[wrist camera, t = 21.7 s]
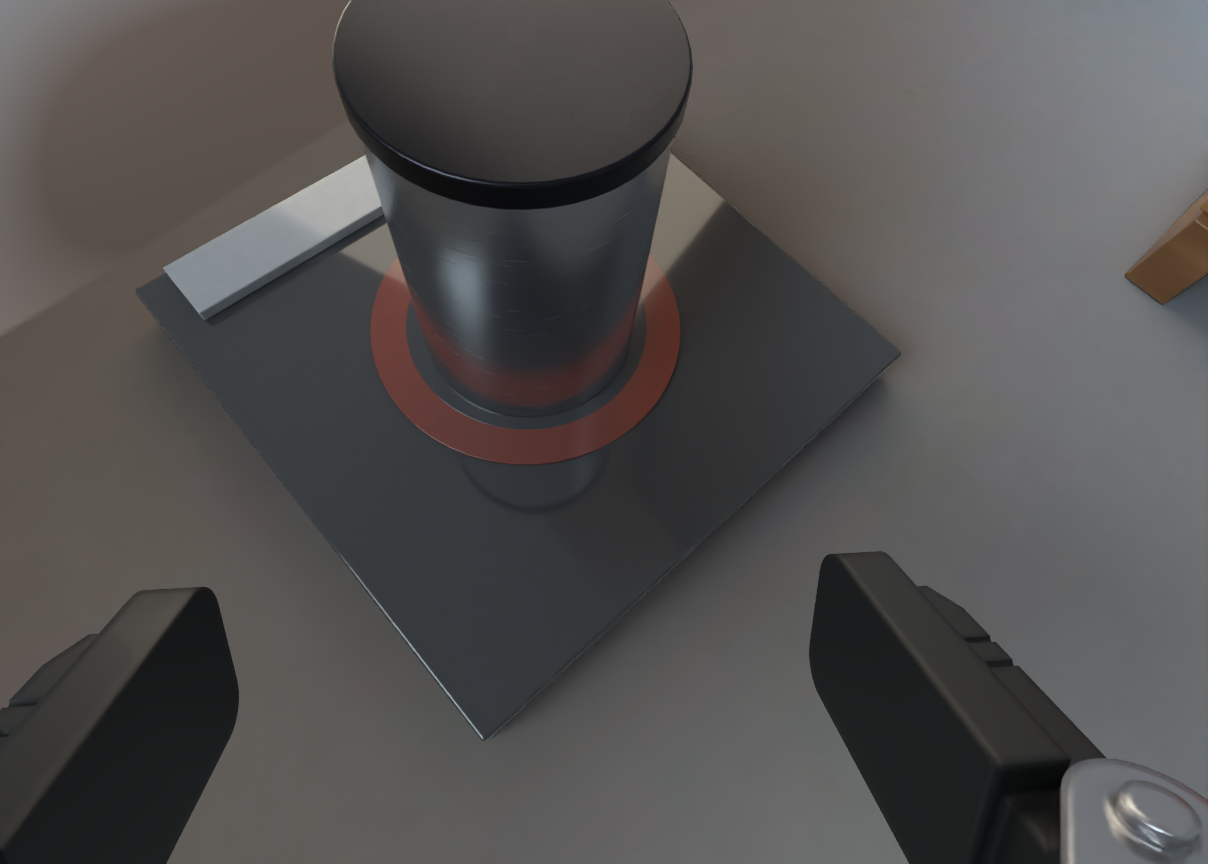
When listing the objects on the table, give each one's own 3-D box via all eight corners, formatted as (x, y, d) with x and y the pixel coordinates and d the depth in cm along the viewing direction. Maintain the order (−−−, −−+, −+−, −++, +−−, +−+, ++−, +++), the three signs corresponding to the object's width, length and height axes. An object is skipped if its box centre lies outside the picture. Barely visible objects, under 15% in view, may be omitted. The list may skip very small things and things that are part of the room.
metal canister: (542, 205, 22) (538, -109, 14) (677, 336, 20) (765, 71, 12) (377, 311, 20) (258, 19, 12) (514, 464, 19) (486, 252, 10)
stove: (556, 87, 26) (557, 42, 25) (881, 375, 22) (909, 345, 21) (159, 318, 21) (124, 281, 20) (488, 741, 17) (481, 743, 16)
